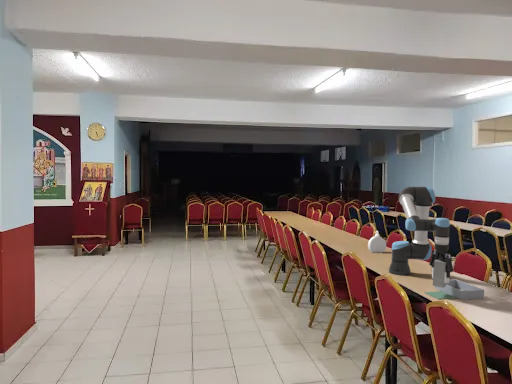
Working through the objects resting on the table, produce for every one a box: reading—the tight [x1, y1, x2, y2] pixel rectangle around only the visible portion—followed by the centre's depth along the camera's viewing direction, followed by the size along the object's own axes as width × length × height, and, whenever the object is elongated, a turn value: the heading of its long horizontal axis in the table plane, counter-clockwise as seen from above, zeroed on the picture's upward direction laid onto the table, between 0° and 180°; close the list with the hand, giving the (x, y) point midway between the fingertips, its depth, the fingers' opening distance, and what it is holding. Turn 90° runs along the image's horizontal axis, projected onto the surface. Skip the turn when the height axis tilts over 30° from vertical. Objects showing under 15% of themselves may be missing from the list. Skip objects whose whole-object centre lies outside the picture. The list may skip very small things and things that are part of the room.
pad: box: [424, 290, 456, 300], centre depth 220 cm, size 12×12×1 cm
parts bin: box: [434, 278, 485, 301], centre depth 225 cm, size 22×16×5 cm
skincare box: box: [432, 259, 447, 288], centre depth 219 cm, size 8×7×16 cm
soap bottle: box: [367, 230, 387, 254], centre depth 344 cm, size 16×5×20 cm, turn 94°
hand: (440, 280), depth 220 cm, fingers closed on skincare box, 10 cm apart
